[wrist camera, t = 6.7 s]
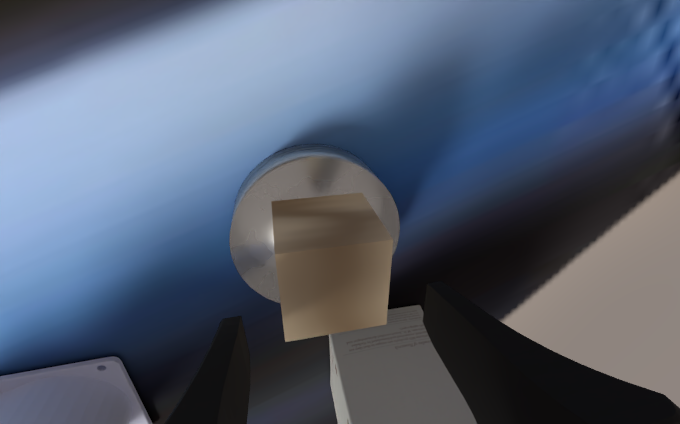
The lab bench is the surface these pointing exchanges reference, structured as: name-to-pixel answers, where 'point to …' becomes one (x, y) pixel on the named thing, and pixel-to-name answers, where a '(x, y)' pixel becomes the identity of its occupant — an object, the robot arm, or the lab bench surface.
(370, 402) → the supplement box
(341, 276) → the beech block
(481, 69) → the lab bench surface
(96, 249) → the lab bench surface
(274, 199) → the steel tin
